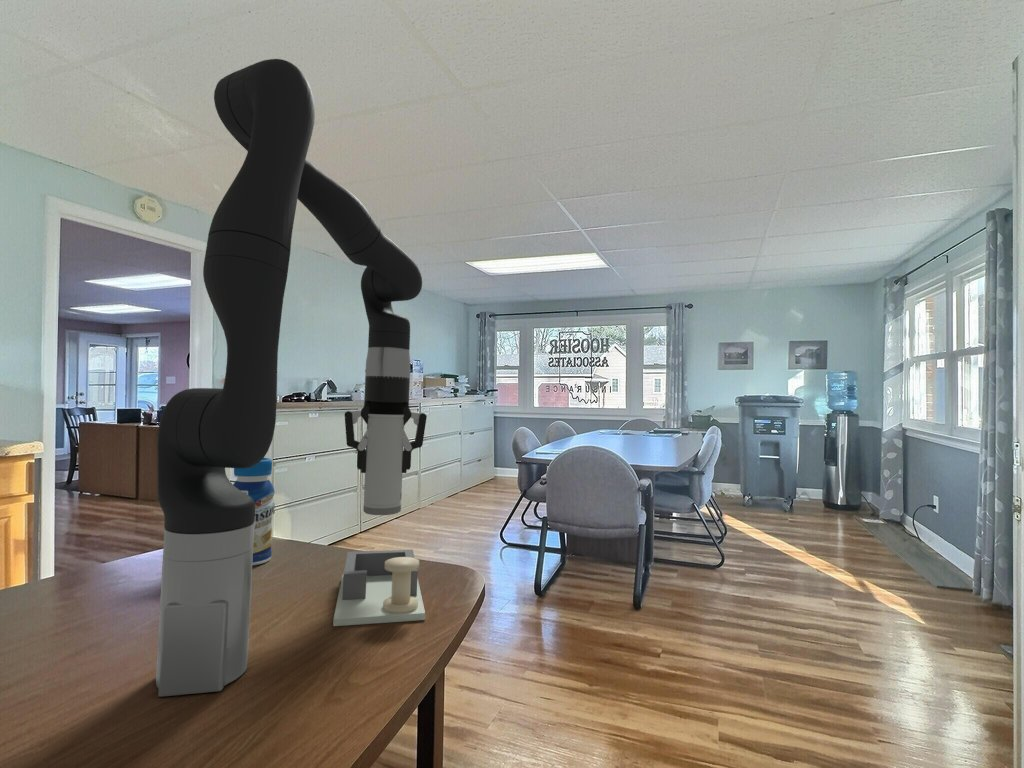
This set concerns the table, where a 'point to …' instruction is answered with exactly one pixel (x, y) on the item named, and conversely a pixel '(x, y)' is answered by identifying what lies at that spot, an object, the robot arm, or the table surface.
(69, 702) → the table surface
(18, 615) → the table surface
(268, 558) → the beverage bottle
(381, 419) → the travel mug
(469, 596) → the table surface
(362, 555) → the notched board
